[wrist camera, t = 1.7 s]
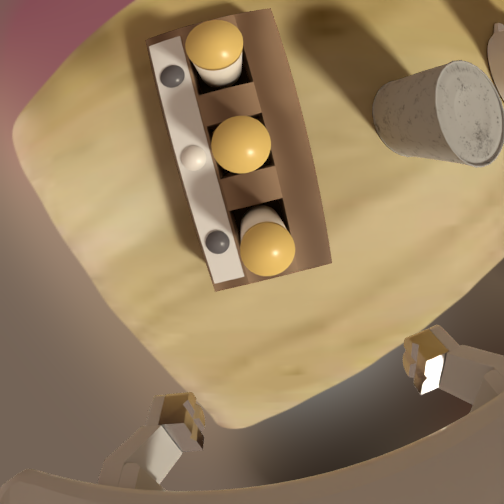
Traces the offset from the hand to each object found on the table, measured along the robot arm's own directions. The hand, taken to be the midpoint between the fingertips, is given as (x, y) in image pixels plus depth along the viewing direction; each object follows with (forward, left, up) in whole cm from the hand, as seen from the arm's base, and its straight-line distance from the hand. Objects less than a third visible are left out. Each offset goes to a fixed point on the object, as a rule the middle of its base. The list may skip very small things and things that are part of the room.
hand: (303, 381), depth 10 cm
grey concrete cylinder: (-20, -8, -24) cm, 32 cm away
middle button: (0, -8, -21) cm, 23 cm away
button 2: (0, 0, -21) cm, 21 cm away
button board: (0, -8, -24) cm, 25 cm away
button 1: (0, -16, -21) cm, 27 cm away
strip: (+4, -8, -19) cm, 21 cm away
